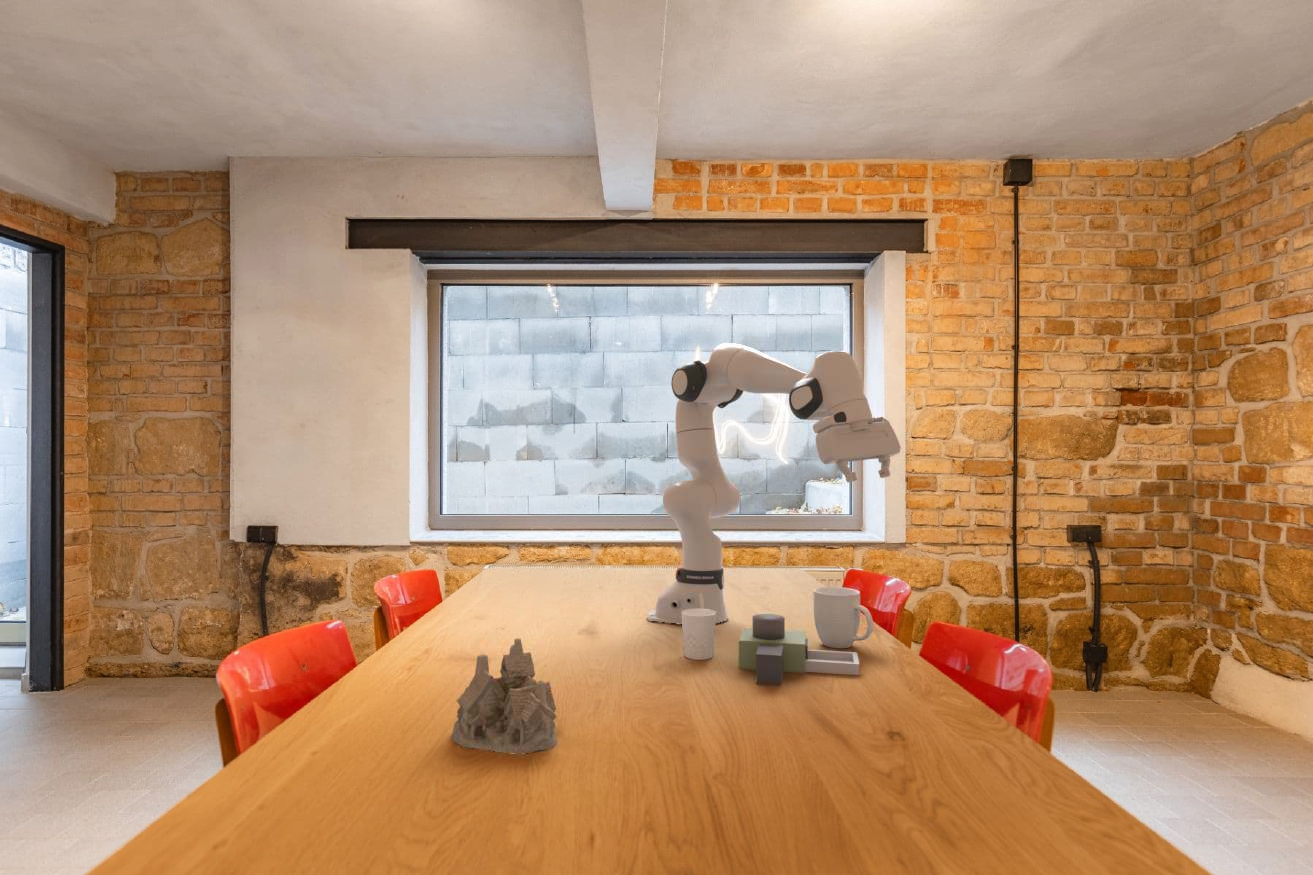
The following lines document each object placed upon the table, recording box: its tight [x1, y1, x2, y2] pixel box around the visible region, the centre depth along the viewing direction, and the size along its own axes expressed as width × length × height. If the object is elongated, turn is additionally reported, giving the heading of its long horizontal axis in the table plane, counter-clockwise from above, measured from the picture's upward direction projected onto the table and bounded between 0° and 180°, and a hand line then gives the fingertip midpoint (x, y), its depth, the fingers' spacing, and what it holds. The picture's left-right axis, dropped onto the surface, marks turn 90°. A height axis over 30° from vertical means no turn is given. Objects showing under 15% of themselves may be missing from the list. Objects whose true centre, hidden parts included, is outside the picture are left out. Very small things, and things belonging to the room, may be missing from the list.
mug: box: [813, 586, 874, 649], centre depth 166 cm, size 15×11×13 cm
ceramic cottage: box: [451, 637, 558, 754], centre depth 112 cm, size 16×16×15 cm
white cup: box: [681, 608, 717, 661], centre depth 158 cm, size 8×8×10 cm
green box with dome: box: [738, 613, 860, 676], centre depth 151 cm, size 25×11×10 cm, turn 77°
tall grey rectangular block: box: [755, 644, 784, 686], centre depth 142 cm, size 5×8×6 cm, turn 167°
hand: (869, 479), depth 148 cm, fingers open, 8 cm apart
